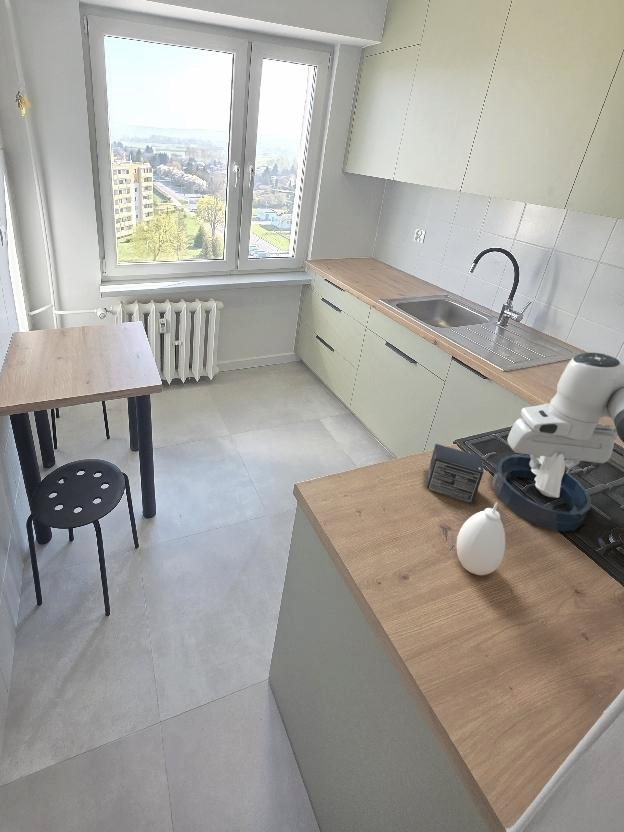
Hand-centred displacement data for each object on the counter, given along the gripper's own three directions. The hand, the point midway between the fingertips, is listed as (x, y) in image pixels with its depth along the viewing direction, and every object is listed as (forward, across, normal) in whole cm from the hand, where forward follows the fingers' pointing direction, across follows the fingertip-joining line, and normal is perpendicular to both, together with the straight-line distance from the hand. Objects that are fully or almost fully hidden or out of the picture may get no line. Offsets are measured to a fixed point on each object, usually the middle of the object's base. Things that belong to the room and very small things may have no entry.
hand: (548, 469), depth 97 cm
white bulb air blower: (+10, +22, +21) cm, 32 cm away
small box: (+10, +20, 0) cm, 22 cm away
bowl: (+10, 0, 0) cm, 10 cm away
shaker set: (+4, 0, 0) cm, 5 cm away
